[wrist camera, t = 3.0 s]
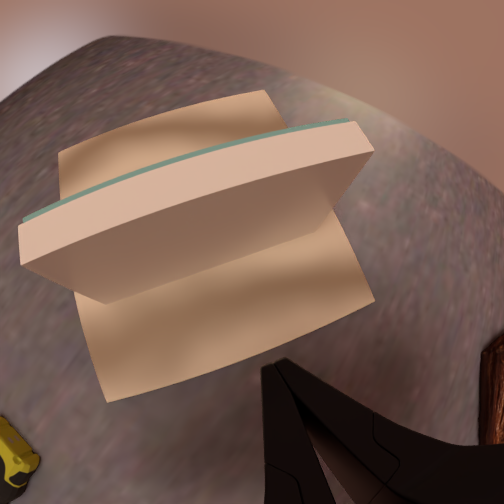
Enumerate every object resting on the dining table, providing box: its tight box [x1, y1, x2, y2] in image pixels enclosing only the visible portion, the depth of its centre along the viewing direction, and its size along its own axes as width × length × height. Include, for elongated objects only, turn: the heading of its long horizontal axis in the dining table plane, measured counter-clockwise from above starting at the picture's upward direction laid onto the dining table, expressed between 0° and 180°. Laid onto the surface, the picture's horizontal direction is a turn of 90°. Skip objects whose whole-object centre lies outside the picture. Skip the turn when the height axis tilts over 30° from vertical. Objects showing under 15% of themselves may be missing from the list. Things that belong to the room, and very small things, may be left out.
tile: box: [18, 118, 375, 305], centre depth 14 cm, size 2×14×9 cm, turn 112°
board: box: [58, 90, 375, 402], centre depth 19 cm, size 19×18×1 cm
